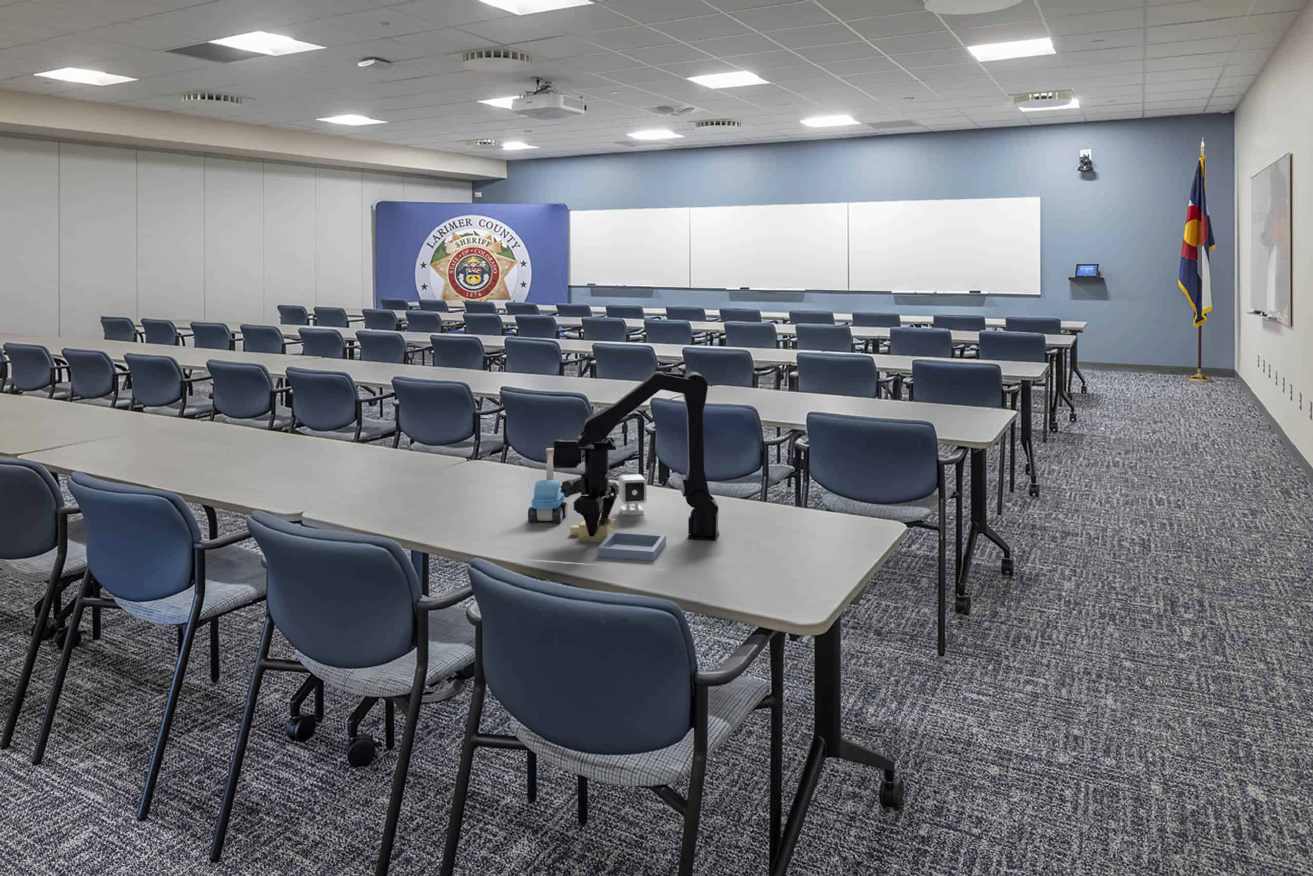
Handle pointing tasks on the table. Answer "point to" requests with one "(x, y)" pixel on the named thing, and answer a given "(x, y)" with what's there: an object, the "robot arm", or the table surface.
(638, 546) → the tray
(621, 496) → the security camera
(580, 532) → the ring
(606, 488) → the robot arm
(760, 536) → the table surface
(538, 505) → the toy excavator
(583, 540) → the grey peg base
